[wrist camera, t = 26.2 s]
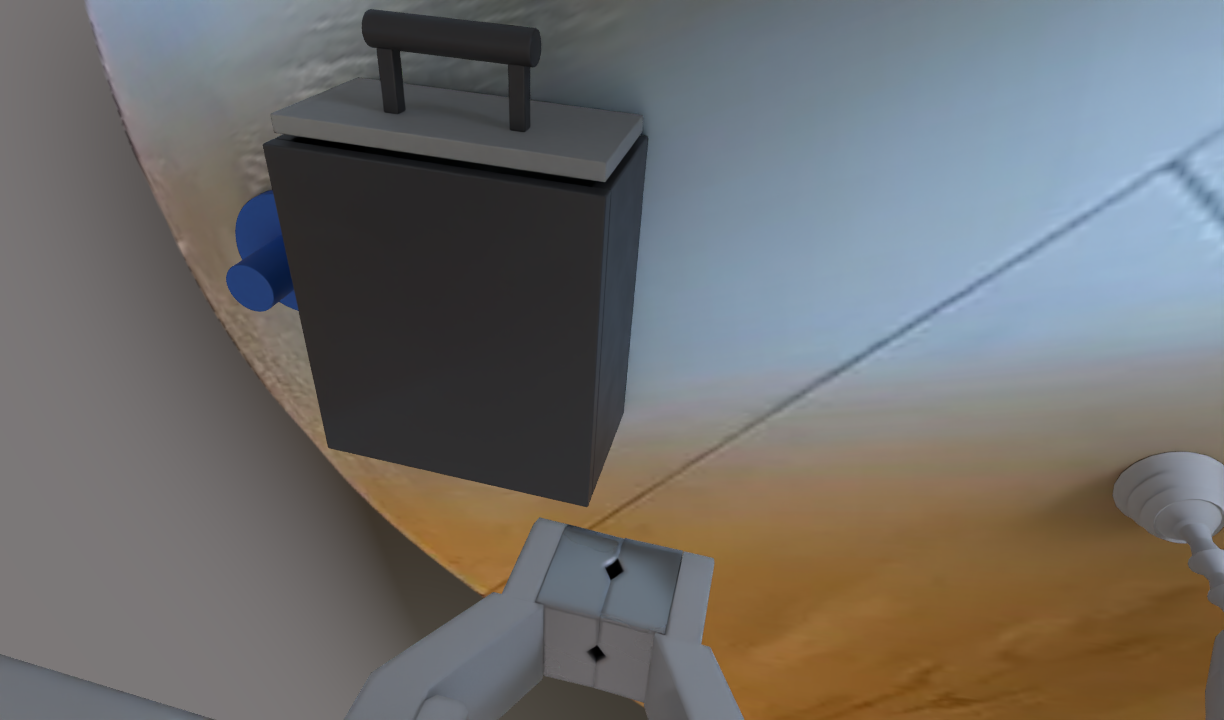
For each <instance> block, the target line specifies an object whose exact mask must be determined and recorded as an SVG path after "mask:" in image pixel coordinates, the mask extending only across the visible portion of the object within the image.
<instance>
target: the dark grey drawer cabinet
mask: <svg viewBox="0 0 1224 720" xmlns="http://www.w3.org/2000/svg"><path fill="white" fill-rule="evenodd" d="M647 147H648V137H647V136H643V135H640V136H639V137H638V138H637V140H636V141H635V142H634V144H633V145H632V146H631V148H630V149H629V151H628V152H627V153H626V155H625V156H624V157H623V159H622V160H621V161H620V163H619V164H618V165H617V167H616V168H615V169H614V171H613V172H612V174H611V175H610V176H609V178H608V179H607V180H606V182H600V181H596V182H595V184H594V185H593V186H592V187H588V186H581V185H575V184H568V183H562V182H555V181H549V180H542V179H535V178H529V177H522V176H516V175H509V174H502V173H496V172H489V171H483V170H476V169H469V168H463V167H456V166H450V165H443V164H437V163H430V162H423V161H417V160H410V159H404V158H397V157H390V156H384V155H377V154H371V153H366V151H365V146H360V145H353V144H347V143H340V142H334V141H327V140H320V139H314V138H307V137H300V136H294V135H287V134H283V135H281V136H279V137H277V138H275V139H272V140H270V141H268V142H266V143H264V144H263V149H264V153H265V158H266V163H267V167H268V172H269V176H270V181H271V186H272V190H273V195H274V200H275V204H276V209H277V213H278V218H279V223H280V227H281V232H282V237H283V241H284V246H285V250H286V255H287V260H288V264H289V269H290V273H291V278H292V283H293V287H294V292H295V297H296V301H297V306H298V310H299V315H300V320H301V324H302V329H303V333H304V338H305V343H306V347H307V352H308V357H309V361H310V366H311V370H312V375H313V380H314V384H315V389H316V394H317V398H318V403H319V407H320V412H321V417H322V421H323V426H324V430H325V435H326V440H327V444H328V448H331V449H335V450H340V451H344V452H348V453H353V454H357V455H361V456H366V457H370V458H374V459H379V460H383V461H388V462H392V463H396V464H401V465H405V466H409V467H414V468H418V469H423V470H427V471H431V472H436V473H440V474H444V475H449V476H453V477H458V478H462V479H466V480H471V481H475V482H479V483H484V484H488V485H492V486H497V487H501V488H506V489H510V490H514V491H519V492H523V493H527V494H532V495H536V496H541V497H545V498H549V499H554V500H558V501H562V502H567V503H571V504H575V505H580V506H584V507H588V505H589V502H590V500H591V497H592V494H593V492H594V489H595V487H596V484H597V481H598V479H599V476H600V473H601V471H602V468H603V466H604V463H605V460H606V458H607V455H608V453H609V450H610V447H611V445H612V442H613V439H614V437H615V434H616V432H617V429H618V426H619V424H620V421H621V419H622V416H623V413H624V402H625V391H626V380H627V369H628V358H629V347H630V336H631V325H632V314H633V302H634V291H635V280H636V269H637V258H638V247H639V236H640V225H641V214H642V202H643V191H644V180H645V169H646V158H647Z"/></svg>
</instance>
